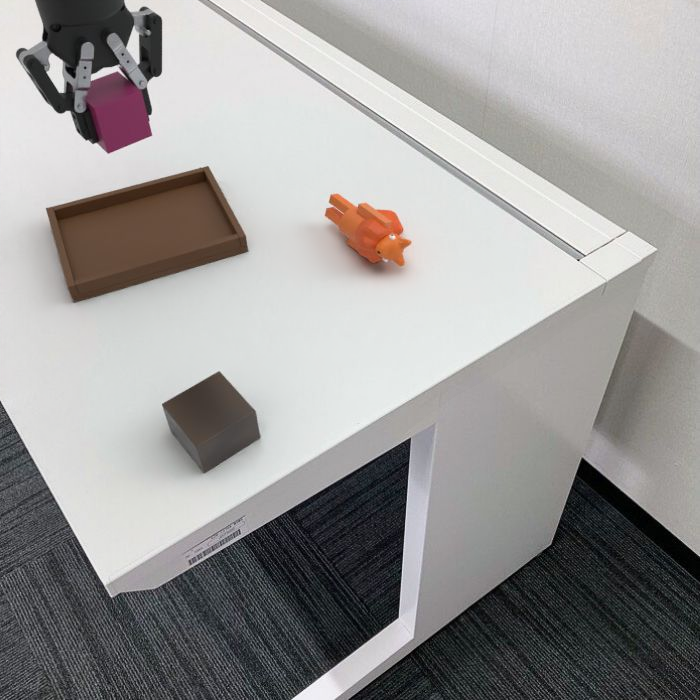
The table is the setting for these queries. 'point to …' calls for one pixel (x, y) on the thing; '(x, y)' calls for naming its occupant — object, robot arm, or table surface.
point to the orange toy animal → (369, 230)
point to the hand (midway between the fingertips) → (117, 129)
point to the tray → (144, 232)
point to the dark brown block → (212, 421)
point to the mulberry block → (117, 112)
